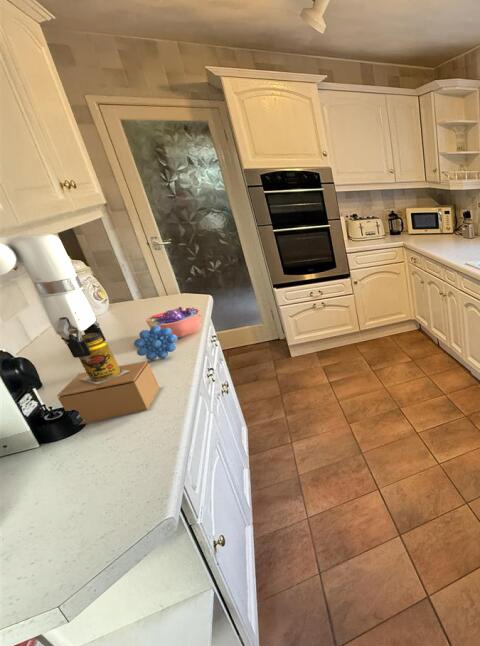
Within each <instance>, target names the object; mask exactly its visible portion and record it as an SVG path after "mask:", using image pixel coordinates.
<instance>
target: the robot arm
mask: <svg viewBox="0 0 480 646" xmlns="http://www.w3.org/2000/svg"><path fill="white" fill-rule="evenodd" d="M17 267H24V269H25V271H26V273H27V275H28V276H29V279H30V280H31V282H32V284H33V286H34V289H35V290H36V292H37V294H38V295H39V297H41V300H42V305H43V307H44V310H45V312H46V314H47V317H48V319H49V321H50V323H51V326H52V328H53V330H54V332H55V334H56V335H58V336H60V337H61V340H63V342H64V344H65V345H66V346H67V347H68V349H69V351H70V353H71V355H72V357H73V358H75V359H79V358H78V357H84V356H89V355H91V352H90V350H89V348H88V346H87V344H86V342H85V340H83V341H82V335H83V333H84V334H90V333H99V334H100V335H101V337H102V338H103V341H104V342H106V337H105V334H104V333H103V331H102V328H101V327H100V324H99V322H97V320H98V319H97V317H96V315H95V312H94V309H93V307H92V306H91V304H90V302H89V300H88V299H87V297H86V295H85V294H84V292H83V291H82V290H84V286H83V285H82V282H81V280H80V278H79V276H78V273H77V272H76V270H75V268H74V266H73V264H72V261H71V259H70V257H69V256H68V253H67V251H66V248H65V247H64V245H63V242H62V241H61V239H60V238H59V237H58V236H57V235H56V234H53V233H34V234H33V233H32V234H23V235H20V236H0V276H3V275H6V274H8V273H9V272H11V271H12V270H13V269H14V268H17Z"/></svg>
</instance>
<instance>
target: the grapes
mask: <svg viewBox="0 0 480 646" xmlns="http://www.w3.org/2000/svg"><path fill="white" fill-rule="evenodd" d="M171 333H172V331H171V329H170V328H163V329H162V330H161V328H160V327H159V326H153V327H151V328H150V327H149V330H148V329H142V330H141V331H140V332H139V334H138V336H139V338H136V339H135V340H134V342H133V345H134V347H136V348H137V349H136V354H137V356H140V357H144V356H145V358H146V360H147V361H154V360H155V359H156V358H158V359H161V360H163V359H166V358H167V357H168V355H169V353H172V352H173V353H174V351H175V350H176V349H177V345H176V344H175V343H177V341H178V338H177V336H176V335H174V334H172V335H170V334H171Z"/></svg>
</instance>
